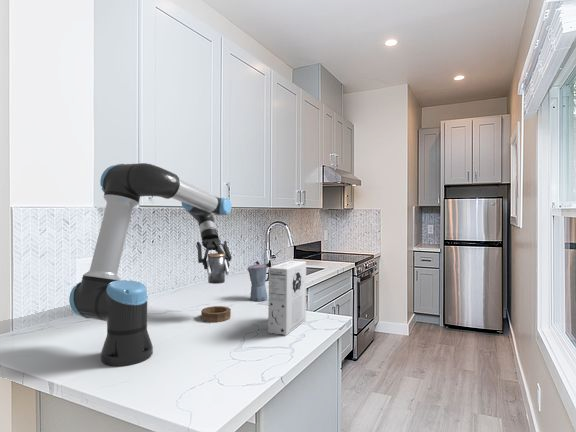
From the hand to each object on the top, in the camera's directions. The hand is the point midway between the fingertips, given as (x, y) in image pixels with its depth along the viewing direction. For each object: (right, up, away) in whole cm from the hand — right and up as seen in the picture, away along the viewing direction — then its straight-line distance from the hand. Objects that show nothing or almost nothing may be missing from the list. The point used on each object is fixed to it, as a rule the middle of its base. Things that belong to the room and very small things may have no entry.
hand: (218, 274), depth 157 cm
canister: (-2, -4, +3) cm, 5 cm away
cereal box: (+29, -20, -7) cm, 36 cm away
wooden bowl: (-2, -19, +3) cm, 20 cm away
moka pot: (+14, -19, +37) cm, 44 cm away
